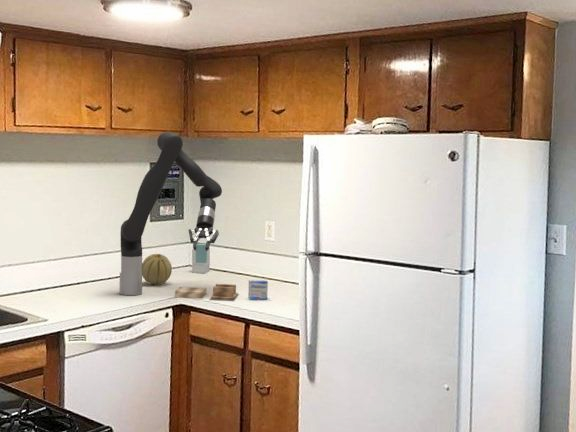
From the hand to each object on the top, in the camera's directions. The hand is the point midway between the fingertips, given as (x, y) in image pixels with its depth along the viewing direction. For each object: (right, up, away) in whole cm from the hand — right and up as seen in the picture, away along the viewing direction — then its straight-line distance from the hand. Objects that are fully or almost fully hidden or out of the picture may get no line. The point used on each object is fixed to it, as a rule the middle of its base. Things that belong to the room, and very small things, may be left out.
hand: (200, 249), depth 334 cm
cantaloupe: (-25, -18, +30) cm, 43 cm away
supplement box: (-8, -15, +66) cm, 68 cm away
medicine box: (+25, -22, +1) cm, 34 cm away
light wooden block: (-5, -21, +4) cm, 22 cm away
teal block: (0, -6, +2) cm, 6 cm away
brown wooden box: (+10, -21, +3) cm, 24 cm away
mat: (+10, -22, +3) cm, 24 cm away
